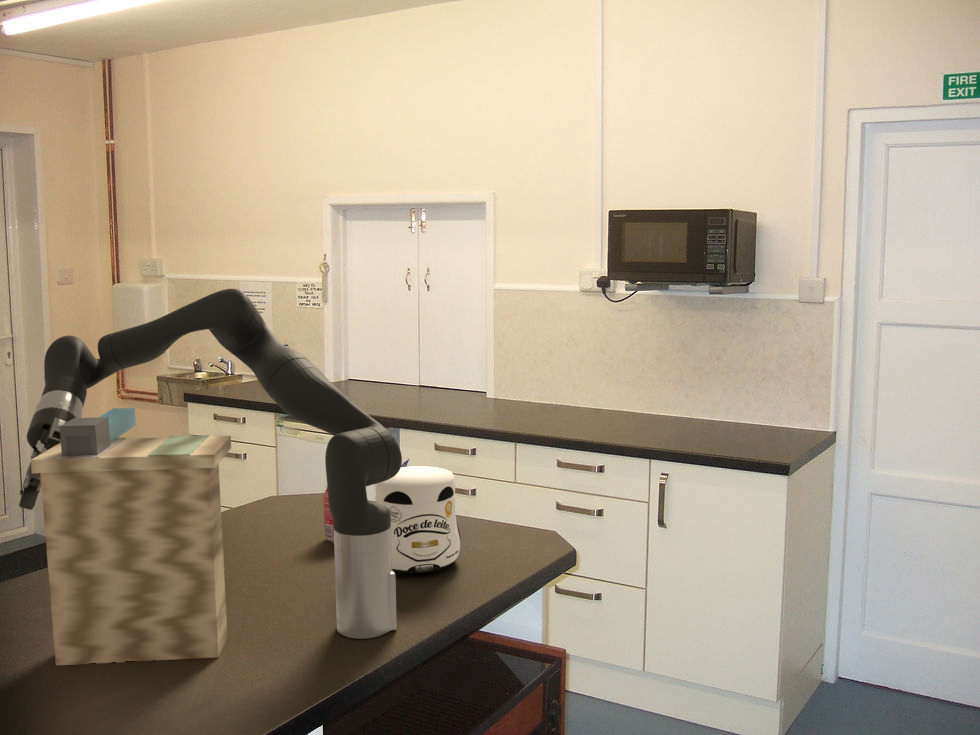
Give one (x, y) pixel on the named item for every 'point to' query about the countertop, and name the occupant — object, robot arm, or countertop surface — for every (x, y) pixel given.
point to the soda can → (328, 519)
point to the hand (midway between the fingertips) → (34, 490)
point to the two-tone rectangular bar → (95, 432)
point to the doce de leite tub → (421, 518)
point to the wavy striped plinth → (136, 550)
